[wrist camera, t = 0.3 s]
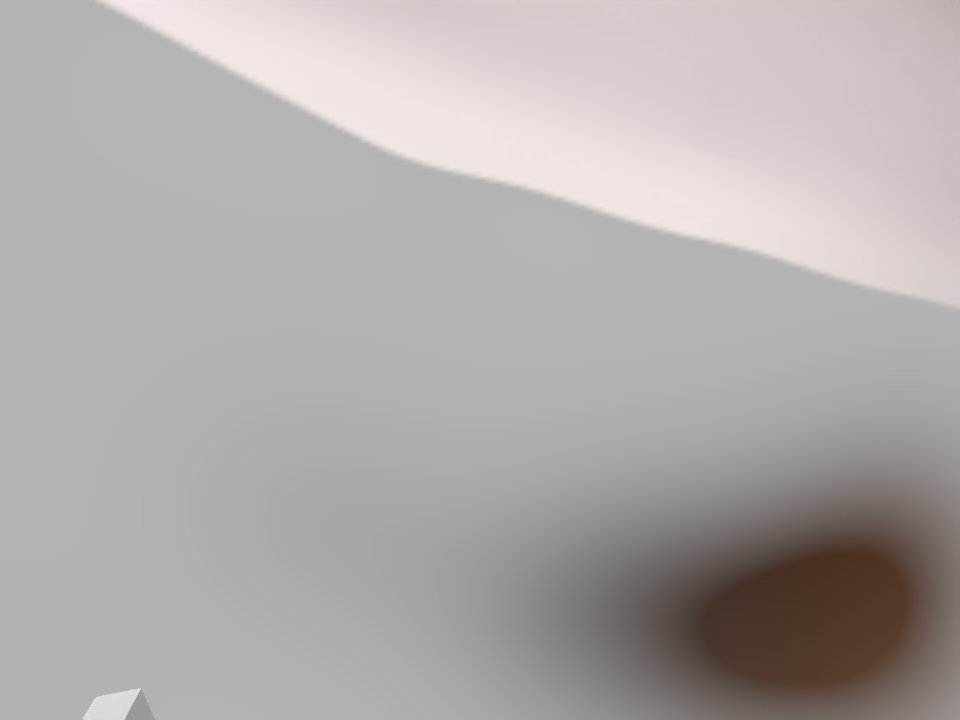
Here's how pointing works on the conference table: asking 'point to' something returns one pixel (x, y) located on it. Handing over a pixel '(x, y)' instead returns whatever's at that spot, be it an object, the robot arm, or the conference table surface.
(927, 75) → the conference table surface
